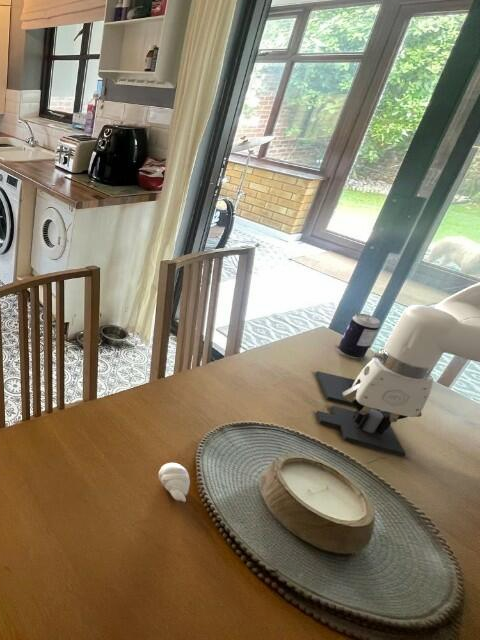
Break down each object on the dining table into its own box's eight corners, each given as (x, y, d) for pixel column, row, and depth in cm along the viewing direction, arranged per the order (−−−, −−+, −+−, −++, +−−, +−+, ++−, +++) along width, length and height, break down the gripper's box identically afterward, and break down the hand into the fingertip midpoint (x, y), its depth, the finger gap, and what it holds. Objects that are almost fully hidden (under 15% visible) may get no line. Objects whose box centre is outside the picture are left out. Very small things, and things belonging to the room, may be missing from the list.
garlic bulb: (163, 507, 77) (169, 488, 75) (154, 477, 82) (159, 459, 80) (193, 510, 76) (200, 492, 74) (183, 481, 82) (189, 462, 79)
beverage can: (360, 351, 117) (379, 316, 111) (365, 362, 112) (384, 327, 107) (335, 344, 119) (352, 310, 114) (338, 355, 115) (355, 320, 110)
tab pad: (384, 422, 94) (395, 404, 92) (403, 456, 86) (416, 438, 84) (312, 403, 99) (320, 386, 97) (323, 434, 91) (333, 416, 89)
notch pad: (363, 384, 105) (365, 382, 104) (379, 412, 97) (380, 409, 96) (315, 373, 109) (316, 370, 108) (326, 399, 100) (328, 396, 100)
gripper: (360, 363, 84) (326, 427, 92) (470, 386, 77) (423, 453, 85) (348, 342, 90) (317, 403, 98) (448, 362, 83) (407, 426, 91)
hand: (367, 426), depth 91 cm, fingers closed on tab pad, 2 cm apart
